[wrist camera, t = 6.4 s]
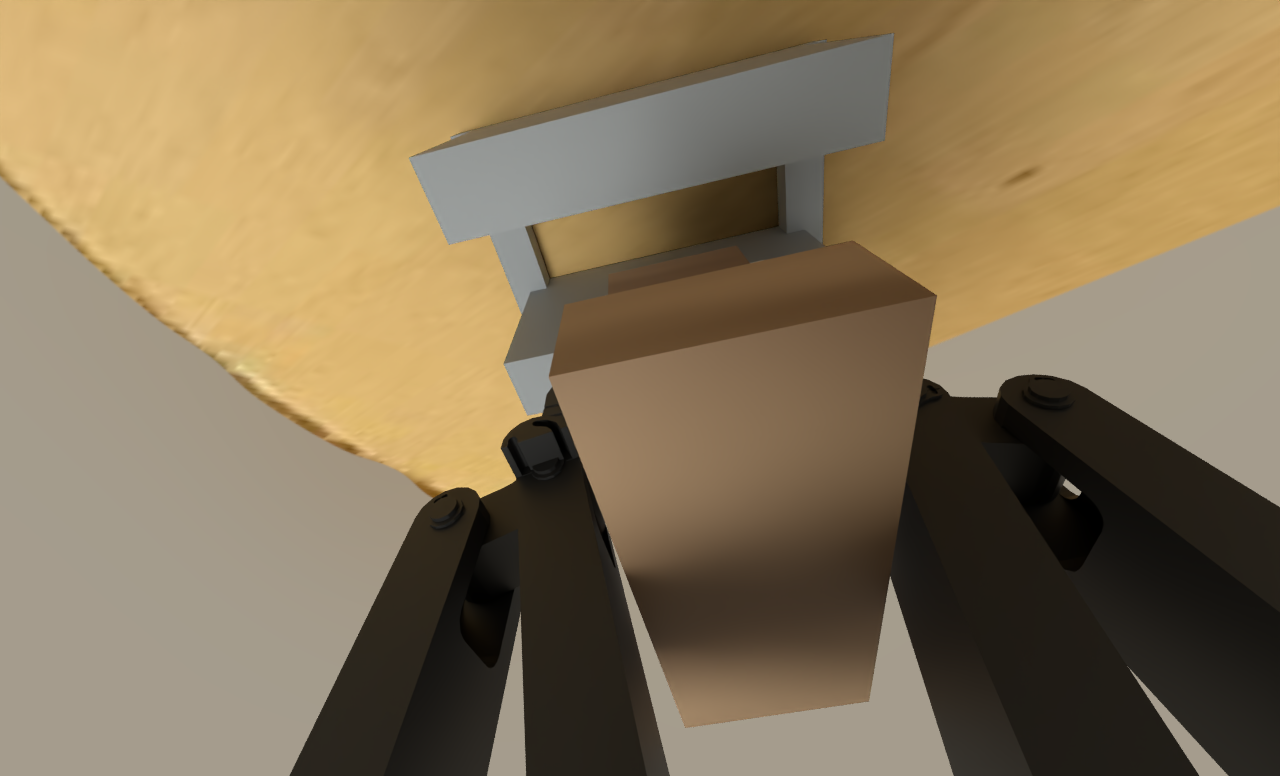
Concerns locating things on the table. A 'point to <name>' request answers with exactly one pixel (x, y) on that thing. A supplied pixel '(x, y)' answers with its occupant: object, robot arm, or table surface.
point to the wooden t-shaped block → (751, 463)
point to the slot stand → (654, 169)
